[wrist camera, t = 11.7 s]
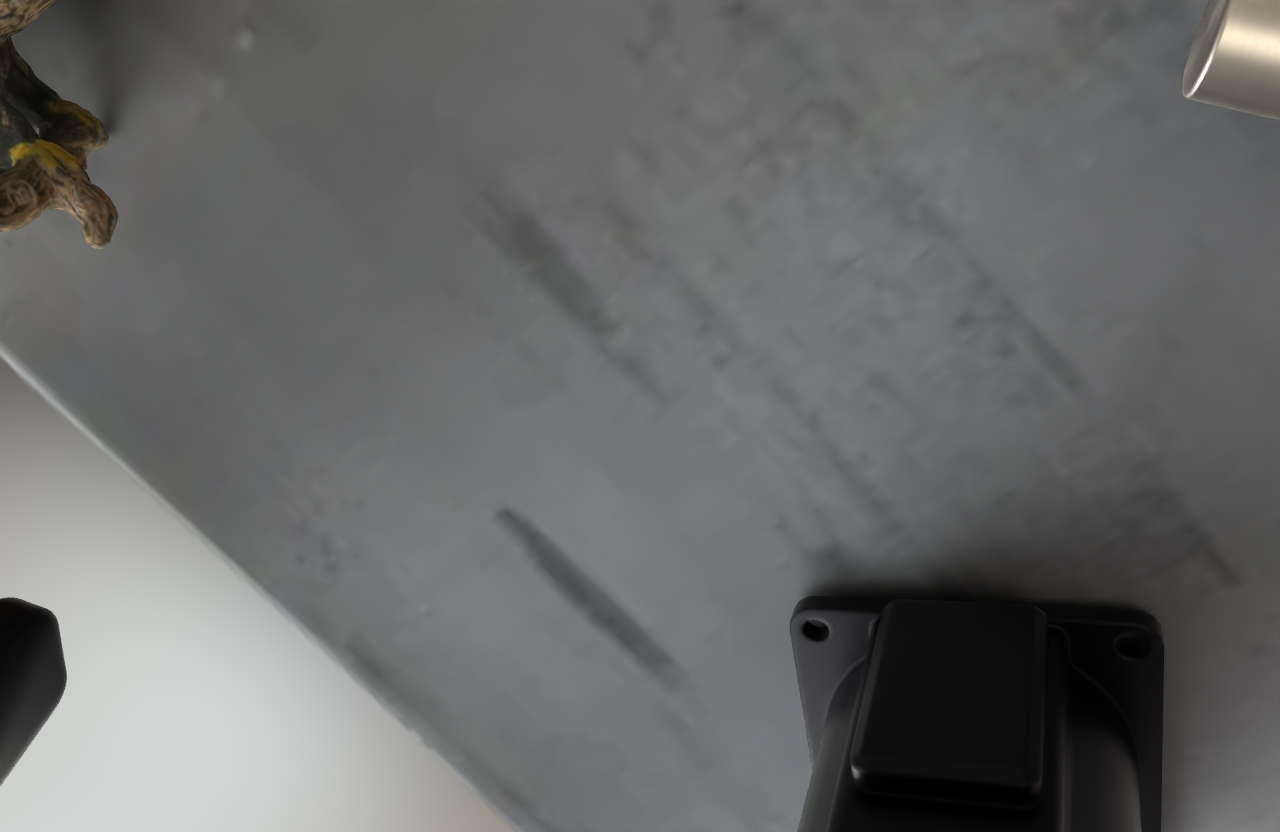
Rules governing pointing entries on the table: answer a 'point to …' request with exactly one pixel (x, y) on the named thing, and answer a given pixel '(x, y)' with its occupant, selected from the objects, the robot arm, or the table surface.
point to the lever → (1237, 57)
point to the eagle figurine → (45, 142)
